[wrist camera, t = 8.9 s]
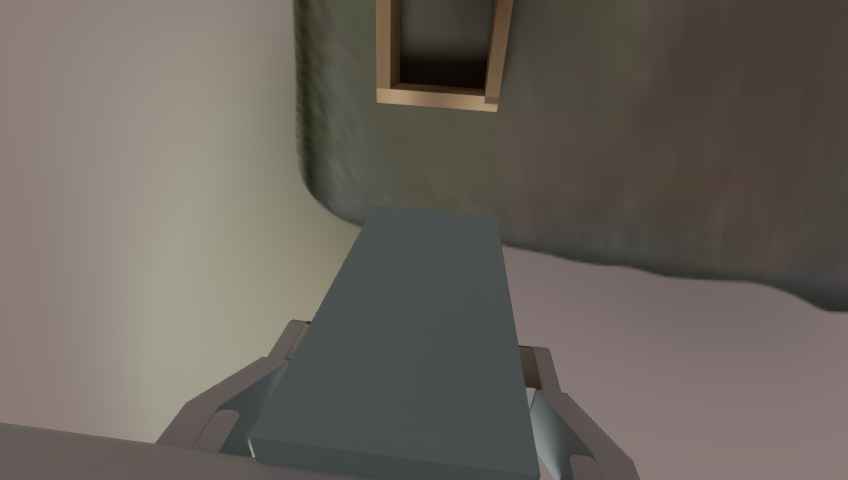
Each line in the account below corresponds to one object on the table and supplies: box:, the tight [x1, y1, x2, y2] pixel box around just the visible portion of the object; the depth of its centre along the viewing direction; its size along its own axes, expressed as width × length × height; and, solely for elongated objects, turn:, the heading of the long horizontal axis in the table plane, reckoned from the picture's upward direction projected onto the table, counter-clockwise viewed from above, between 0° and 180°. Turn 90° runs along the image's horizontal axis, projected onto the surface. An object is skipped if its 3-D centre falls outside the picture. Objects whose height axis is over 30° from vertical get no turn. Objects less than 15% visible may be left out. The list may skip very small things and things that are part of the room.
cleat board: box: [376, 0, 513, 112], centre depth 22 cm, size 24×10×14 cm, turn 87°
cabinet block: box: [249, 205, 540, 480], centre depth 12 cm, size 5×6×10 cm
